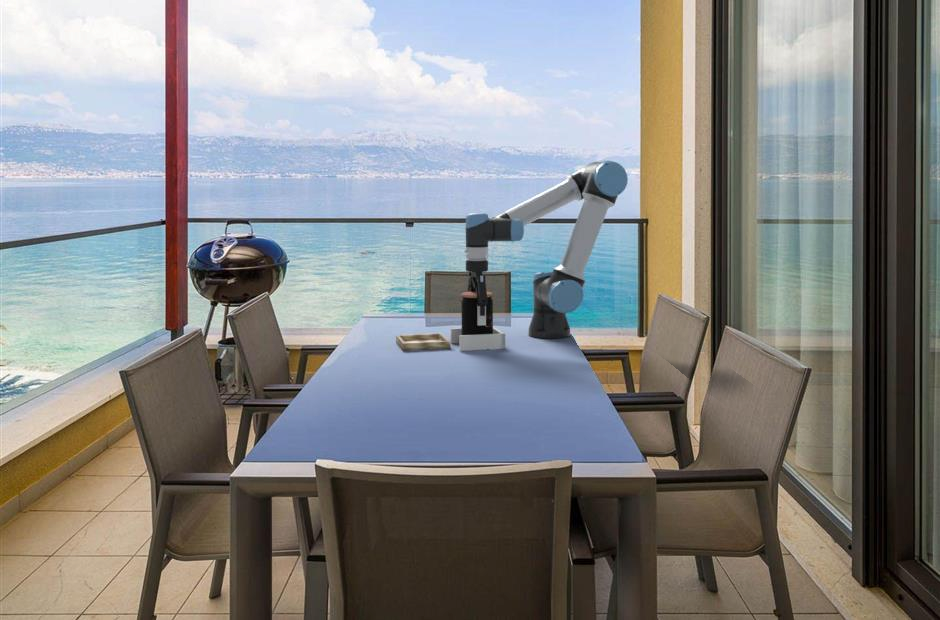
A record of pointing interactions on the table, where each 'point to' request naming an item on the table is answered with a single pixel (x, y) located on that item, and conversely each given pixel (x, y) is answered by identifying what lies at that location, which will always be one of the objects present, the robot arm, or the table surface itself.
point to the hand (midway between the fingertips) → (476, 322)
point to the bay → (478, 340)
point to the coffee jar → (475, 315)
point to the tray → (422, 342)
